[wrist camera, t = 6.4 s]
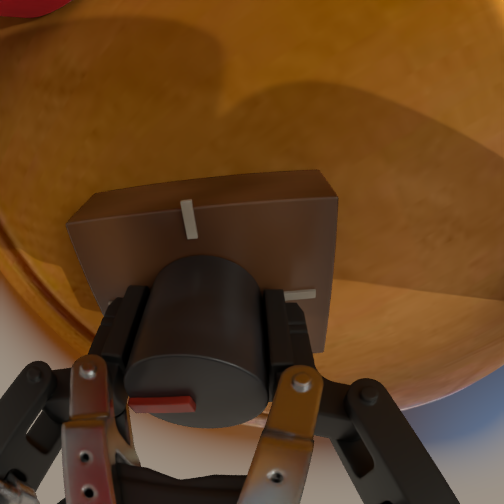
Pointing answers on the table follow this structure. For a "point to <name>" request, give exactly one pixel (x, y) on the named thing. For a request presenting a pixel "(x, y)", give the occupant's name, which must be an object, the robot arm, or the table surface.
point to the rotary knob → (200, 346)
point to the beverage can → (29, 7)
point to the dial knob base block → (216, 235)
